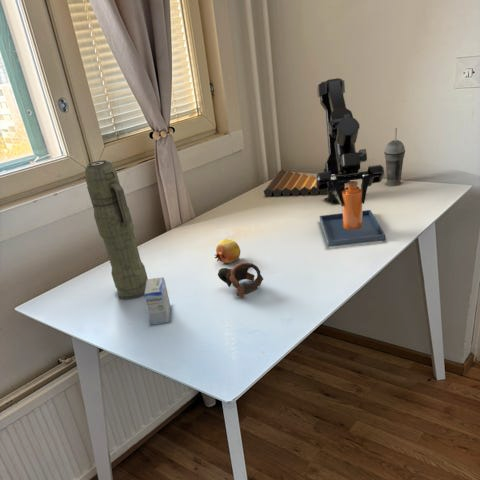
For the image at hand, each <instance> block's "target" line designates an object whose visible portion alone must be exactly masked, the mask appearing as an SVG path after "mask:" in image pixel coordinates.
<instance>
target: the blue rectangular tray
mask: <svg viewBox="0 0 480 480" xmlns="http://www.w3.org/2000/svg"><path fill="white" fill-rule="evenodd" d="M319 222H320V226H321V229H322V231H323V234H324V237H325V240H326V244H327V246H328V248H329V247H337V246H338V247H339V246H345V245H355V244H362V243H363V244H364V243H372V242H380V241H386V238H387V237H386V233H385V231H384V230H383V228H382V226H381V225H380V223H379V222H378V220H377V218H376V217H375V215H374V213H373V212H372V210H371V209H366V210H365V209H364V210H362V227H361V228H359V229H354V230H348V229H345V228H343V212H341V213H333V214H332V213H331V214H324V215H319Z"/></svg>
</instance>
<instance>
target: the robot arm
mask: <svg viewBox="0 0 480 480" xmlns="http://www.w3.org/2000/svg"><path fill="white" fill-rule="evenodd" d="M345 85H346V84H345V80H344V79H342V78H340V77H336V78H329V79H327V80H325V81H321V82H320V83H319V84H318V85H317V88H316V89H317V98H319V103H320V105H321V106H322V108H323V110H324V111H325V118H326V119H325V120H326V123H325V124H326V134H327V148H328V149H327V150H328V157H327V159H326V160H325V163H324V168H323V171H321V172H318V173H317V174H316V178H317V179H316V185H317V190H323V189H327V191H328V193H327V197H324V198H323V201H325V202H327V203H330V204H332V205H337V204H339V205H340V206H341V207H342V206H343V198H342V191H344V190H345V188H346V185H347V182H349V181H357V180H361V184H360V189H361V190H362V205H365V202H366V197H367V191H368V187H371V186H372V185H373V184H379V183H381V182H382V180H383V177H384V174H385V169H384V166H383V165H382V164H375V165H369V166H368V168H367V170H366V171H361V165H362V164H361V163H365V162H367V161H368V154H367V153H368V152H367V149H366V148H362V149H359V150H358V151H357V150H356V142H357V139H358V134H359V130H360V123H359V121H358V120H357V119H356V118H354V116H353V112H352V110H350V109H348V108H347V105H346V99H345V96H344V94H346V87H345Z"/></svg>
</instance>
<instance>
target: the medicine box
mask: <svg viewBox="0 0 480 480" xmlns="http://www.w3.org/2000/svg"><path fill="white" fill-rule="evenodd" d="M143 296H144V301H145V305H146V308H147V312H148V316H149V319H150V323H151V325H160V324H166V323H169V322H170V318H171V317H170V316H171V303H170V297H169V293H168V289H167V284H166V280H165V278H164V277H162V276H161V277H154V278H148V280H147V281H146V287H145V292H144V294H143Z"/></svg>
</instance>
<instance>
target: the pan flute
mask: <svg viewBox="0 0 480 480" xmlns="http://www.w3.org/2000/svg"><path fill="white" fill-rule="evenodd" d="M316 179H317V176H316V177H315V176H314V175H313V174H310V175H307V174H305V173H302V174H300V173H299V172H297V171H295V172H294V173H293V172H292V171H291V170H287V171H286V170H284V169H280V170H279V171H278V172H277V173H276V174H275V176H274V177H273V179H271V181H270V182H269V184H268V185H267V186H266V187H265V189H264V190H263V194H264V197H266V198H269V197H270V198H271V197H272V196H274V197H281V196H283V197H290V196H291V195H292V197H298V196H299V195H300V194H301V196H309V194H310V195H311V196H317V195H318V194H319V195H320V196H325V195H327V196H328V191H327V189H323V190H317V185H316Z"/></svg>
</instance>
